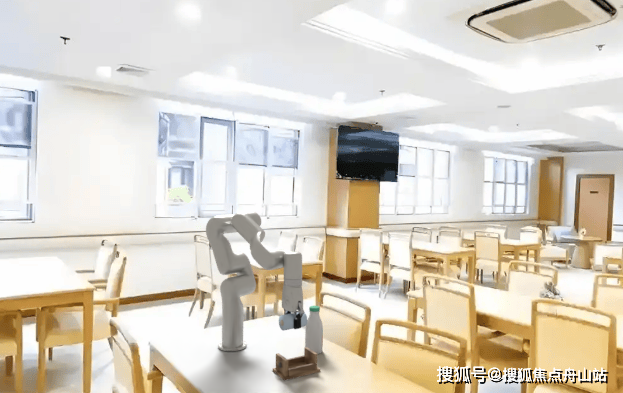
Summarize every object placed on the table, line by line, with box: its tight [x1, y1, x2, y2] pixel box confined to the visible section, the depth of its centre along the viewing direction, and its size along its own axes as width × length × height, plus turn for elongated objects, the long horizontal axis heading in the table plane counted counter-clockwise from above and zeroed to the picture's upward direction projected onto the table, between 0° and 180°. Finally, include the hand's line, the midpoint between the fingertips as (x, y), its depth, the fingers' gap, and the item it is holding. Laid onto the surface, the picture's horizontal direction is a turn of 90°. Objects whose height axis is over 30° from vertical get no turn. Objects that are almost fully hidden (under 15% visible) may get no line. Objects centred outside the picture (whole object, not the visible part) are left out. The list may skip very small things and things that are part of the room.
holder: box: [272, 346, 321, 381], centre depth 172 cm, size 10×16×7 cm, turn 122°
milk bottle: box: [304, 305, 324, 355], centre depth 193 cm, size 8×8×20 cm
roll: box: [278, 311, 308, 331], centre depth 177 cm, size 10×6×6 cm, turn 123°
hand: (293, 326), depth 177 cm, fingers closed on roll, 6 cm apart
